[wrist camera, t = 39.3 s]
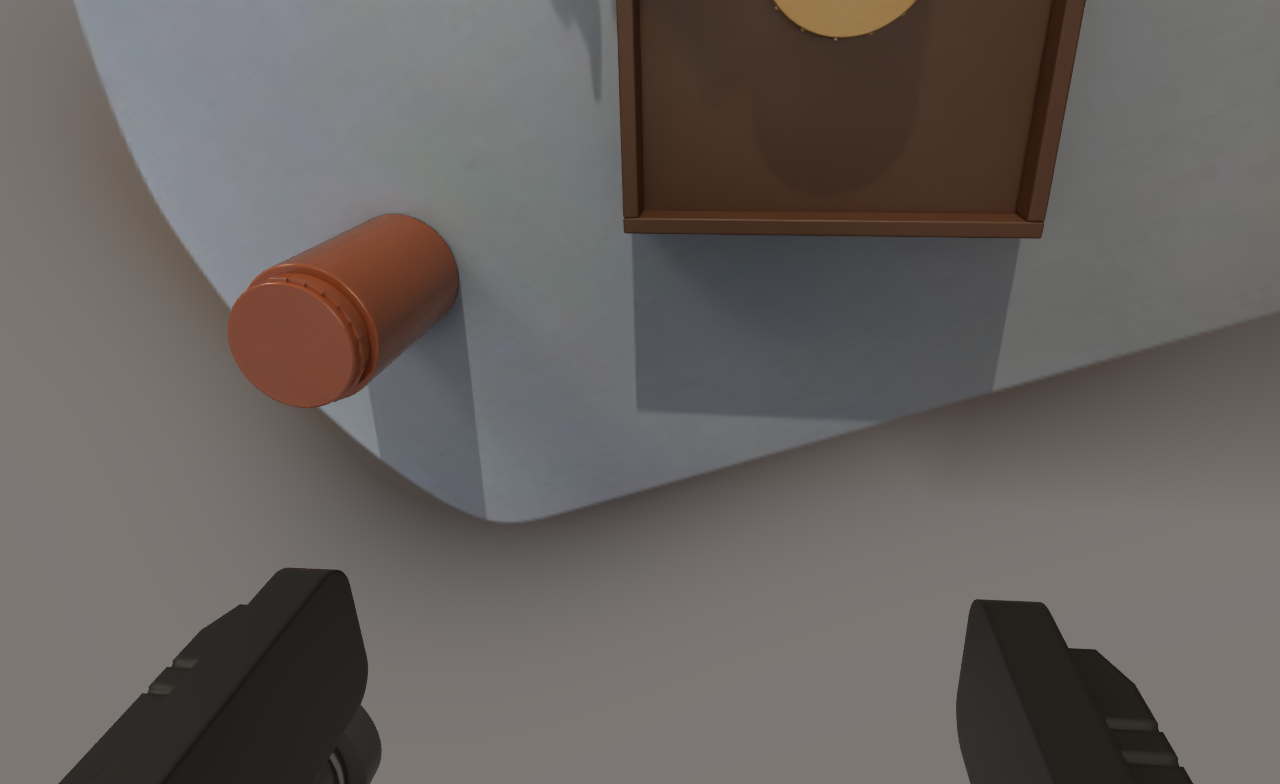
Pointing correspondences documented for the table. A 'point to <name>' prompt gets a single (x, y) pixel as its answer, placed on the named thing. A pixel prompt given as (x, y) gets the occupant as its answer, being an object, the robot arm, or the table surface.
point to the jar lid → (842, 15)
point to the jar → (342, 310)
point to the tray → (842, 119)
